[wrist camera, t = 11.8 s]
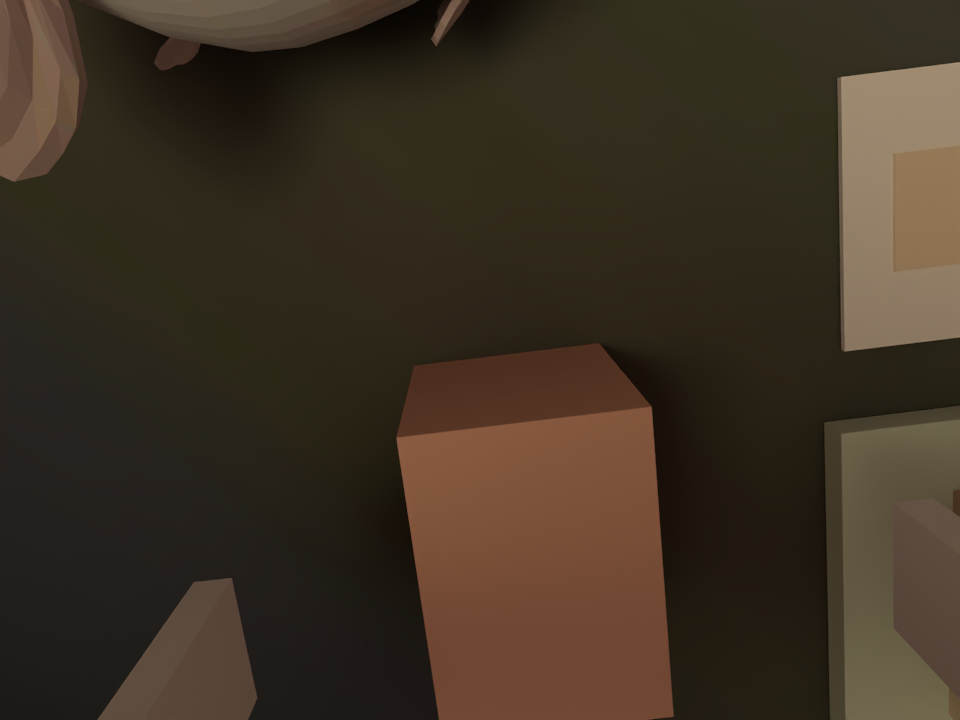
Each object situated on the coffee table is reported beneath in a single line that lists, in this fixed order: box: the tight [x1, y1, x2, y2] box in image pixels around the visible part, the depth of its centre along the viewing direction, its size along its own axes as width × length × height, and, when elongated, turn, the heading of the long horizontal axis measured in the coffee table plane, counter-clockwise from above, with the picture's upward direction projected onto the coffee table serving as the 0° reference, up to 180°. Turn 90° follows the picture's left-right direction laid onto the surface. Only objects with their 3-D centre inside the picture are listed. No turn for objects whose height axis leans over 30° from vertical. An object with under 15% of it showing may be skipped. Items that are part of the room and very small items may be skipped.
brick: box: [396, 343, 674, 720], centre depth 19 cm, size 5×7×6 cm
